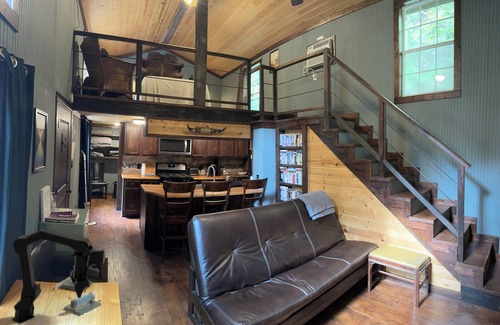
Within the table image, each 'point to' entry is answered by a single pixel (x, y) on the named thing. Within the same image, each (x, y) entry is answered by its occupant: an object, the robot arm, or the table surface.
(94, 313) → the table surface
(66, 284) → the graphics card
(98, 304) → the lid
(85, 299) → the lever
